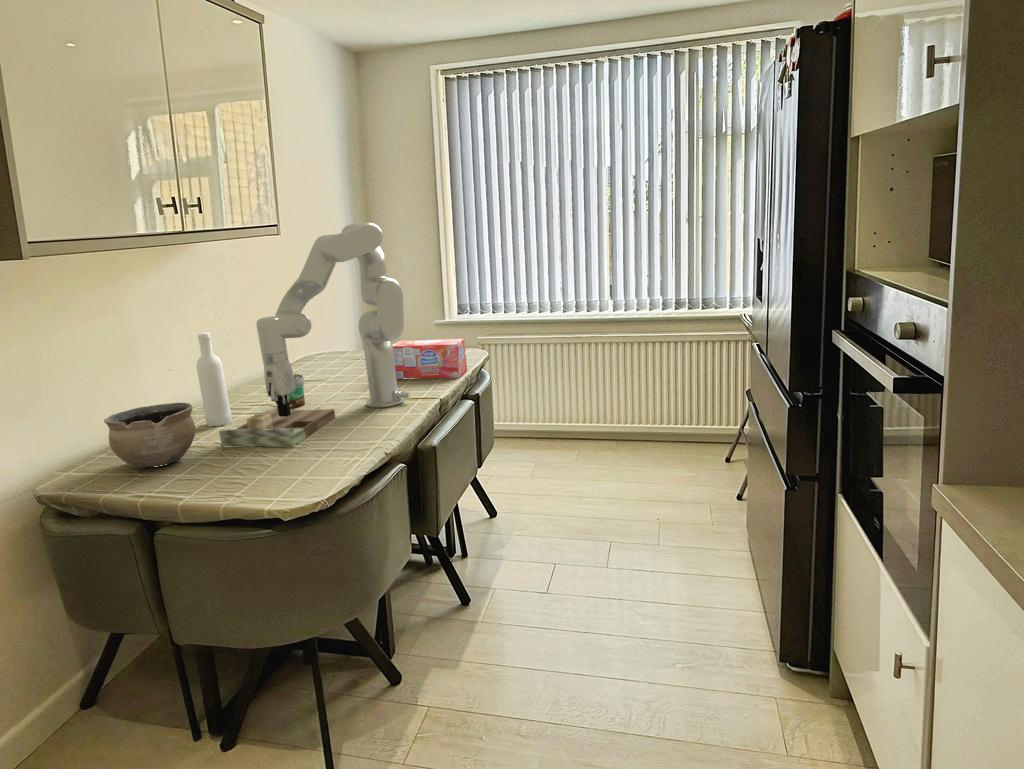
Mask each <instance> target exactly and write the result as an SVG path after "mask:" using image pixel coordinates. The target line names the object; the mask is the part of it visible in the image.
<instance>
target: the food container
mask: <svg viewBox="0 0 1024 769" xmlns="http://www.w3.org/2000/svg"><path fill="white" fill-rule="evenodd" d="M293 375H294V380H295V385H296V388H295V389H294V390H293V391H292V392H291V393H290V395H289V406H290V410H295V409H298V408H302V407H303V406H305V405H306V401H305V388H304V384H305V382H306V379H305V376H304V375H303V374H296V373H295V374H294V373H293Z"/></svg>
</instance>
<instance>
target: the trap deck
mask: <svg viewBox="0 0 1024 769" xmlns="http://www.w3.org/2000/svg"><path fill="white" fill-rule="evenodd" d="M290 412H291V415H289V416H284V417H280V416H279V413H278V410H268V411H266V412H264V413H263V414H271V418H272V424H273V429H248V426H247V422H246V423H243V424H242V425H241V426H239V427H237V428H235V429H219V437H220V444H221V447H222V446H240V447H239V448H242V447H241V446H246V447H245V448H255V447H254V446H278V447H295V446H294V445H296V444H297V443H298V444H300V443H301V442H303V441H304V440H306V439H307V438H309V437H310V436H312V435H313V434H314V432H315V431H316V432H317V430H318V429H319V430H320V429H322V428H324V427H325V426H327V425H328V424H329V423H331V422H332V421H333V419H334V420H335V419H336V412H335V409H334V408H330V409H329V408H327V409H326V408H325V409H323V408H322V409H298V410H297V409H290ZM330 421H331V422H330ZM327 423H328V424H327ZM324 425H325V426H324ZM321 427H322V428H321ZM319 430H318V431H319ZM316 432H315V433H316ZM312 433H313V434H312ZM311 434H312V435H311ZM309 435H310V436H309ZM308 436H309V437H308ZM306 437H307V438H306ZM305 438H306V439H305ZM303 439H304V440H303ZM302 440H303V441H302ZM300 441H301V442H300ZM299 442H300V443H299ZM298 444H297V445H298ZM292 445H293V446H292ZM297 445H296V446H297ZM247 446H249V447H247ZM251 446H252V447H251Z"/></svg>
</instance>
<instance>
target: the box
mask: <svg viewBox="0 0 1024 769" xmlns="http://www.w3.org/2000/svg"><path fill="white" fill-rule="evenodd" d="M392 347H393V352H394V361H395V370H396V378H397V379H403V378H446V379H460V378H461V377H462V376H463V375H464V374H465V373H466V372H467V371H468V365H467V364H468V363H467V354H466V353H467V352H466V342H465V338H446V339H445V338H444V339H421V340H419V339H417V340H400V341H399V340H398V341H396V342H395V343H393V344H392ZM403 380H404V379H403Z"/></svg>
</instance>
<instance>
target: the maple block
mask: <svg viewBox="0 0 1024 769" xmlns="http://www.w3.org/2000/svg"><path fill="white" fill-rule="evenodd" d="M245 420H246V423H247V426H248V429H273V424H272V418H271V414H264V413H261V414H258V413H257V414H254V415H252V416H250V417H248V418H247V419H245Z"/></svg>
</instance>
